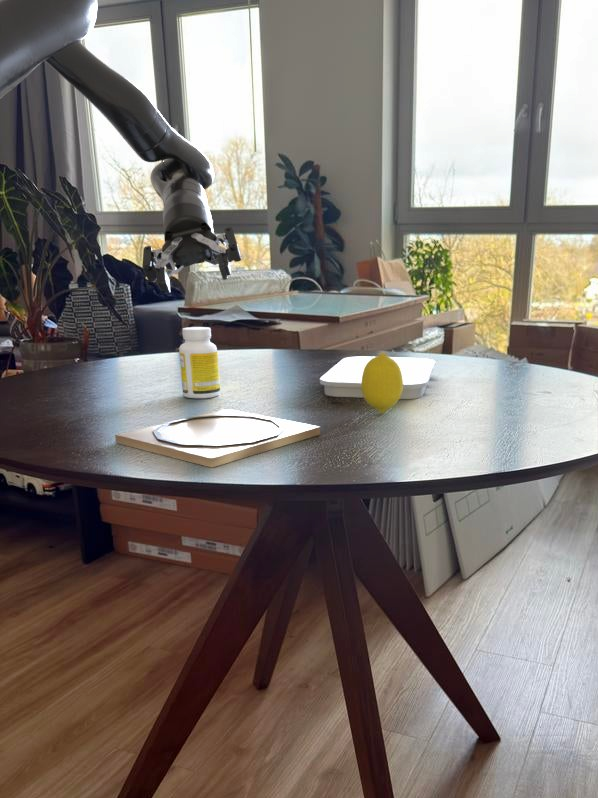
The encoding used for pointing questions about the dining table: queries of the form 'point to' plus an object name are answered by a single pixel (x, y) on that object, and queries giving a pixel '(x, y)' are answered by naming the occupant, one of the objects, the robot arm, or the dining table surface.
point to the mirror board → (217, 436)
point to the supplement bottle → (199, 364)
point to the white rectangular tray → (349, 373)
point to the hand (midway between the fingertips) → (194, 281)
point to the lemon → (382, 382)
